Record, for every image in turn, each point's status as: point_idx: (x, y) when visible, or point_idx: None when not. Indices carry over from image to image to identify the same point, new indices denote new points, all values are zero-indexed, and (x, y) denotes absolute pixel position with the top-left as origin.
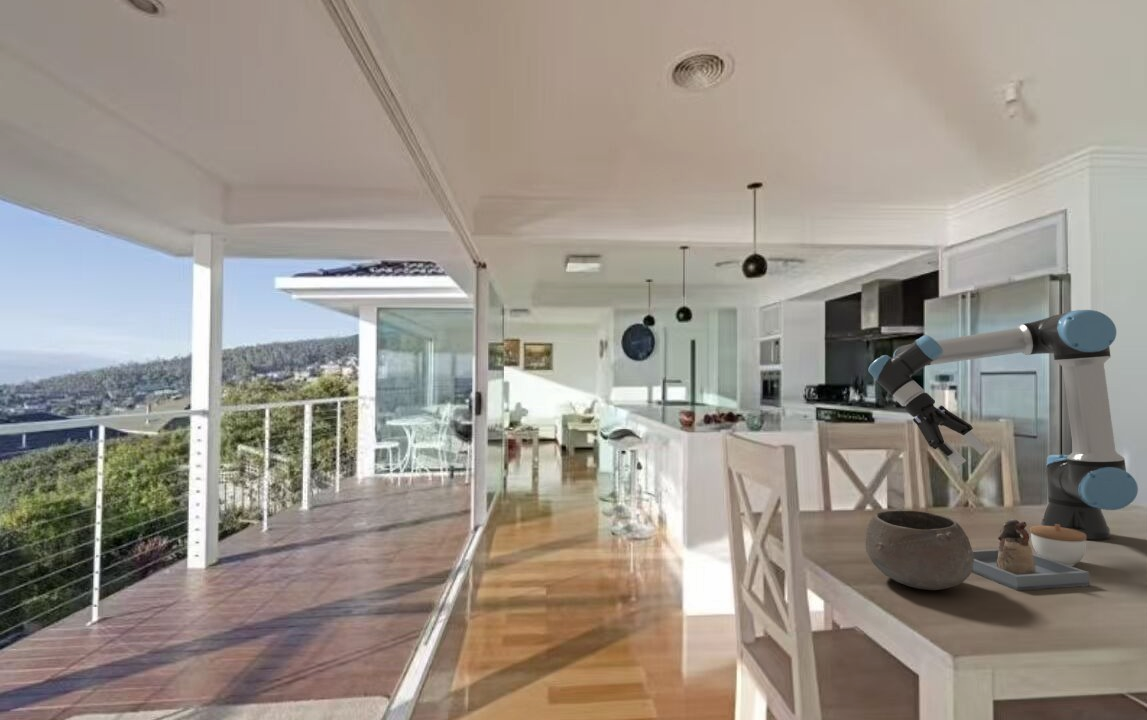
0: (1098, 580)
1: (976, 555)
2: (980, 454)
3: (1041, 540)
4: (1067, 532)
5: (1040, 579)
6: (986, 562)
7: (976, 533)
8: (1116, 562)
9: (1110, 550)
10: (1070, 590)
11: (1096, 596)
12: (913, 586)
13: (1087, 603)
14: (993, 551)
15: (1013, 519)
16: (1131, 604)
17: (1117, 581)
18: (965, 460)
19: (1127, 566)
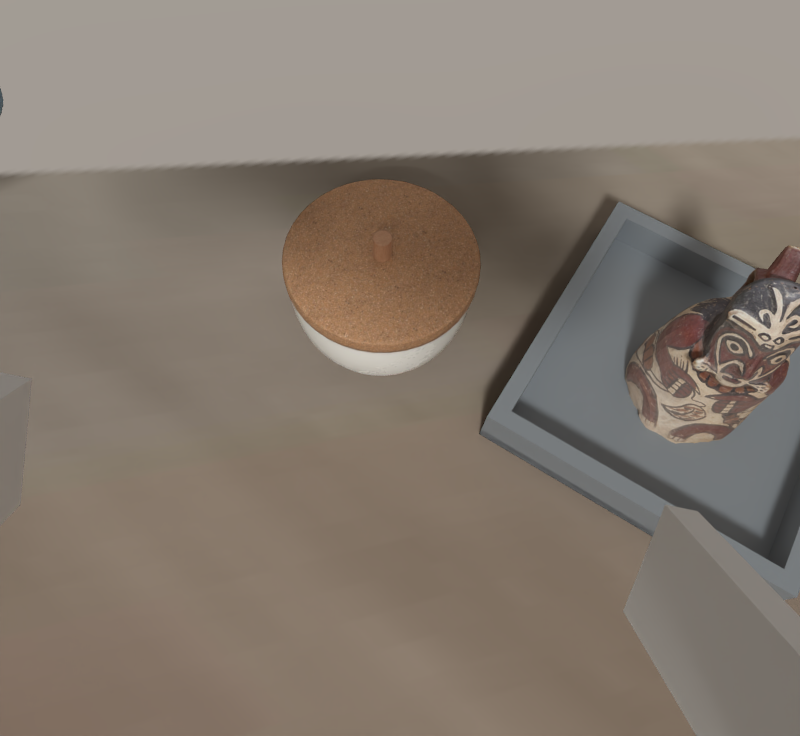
0: (517, 220)
1: None
2: (15, 507)
3: (465, 313)
4: (393, 224)
5: None
6: (669, 489)
7: (68, 695)
8: (233, 205)
9: (49, 230)
10: None
11: (692, 209)
12: None
13: (779, 217)
14: (610, 470)
15: (785, 289)
16: (683, 152)
17: (482, 187)
18: (679, 511)
19: (265, 181)
